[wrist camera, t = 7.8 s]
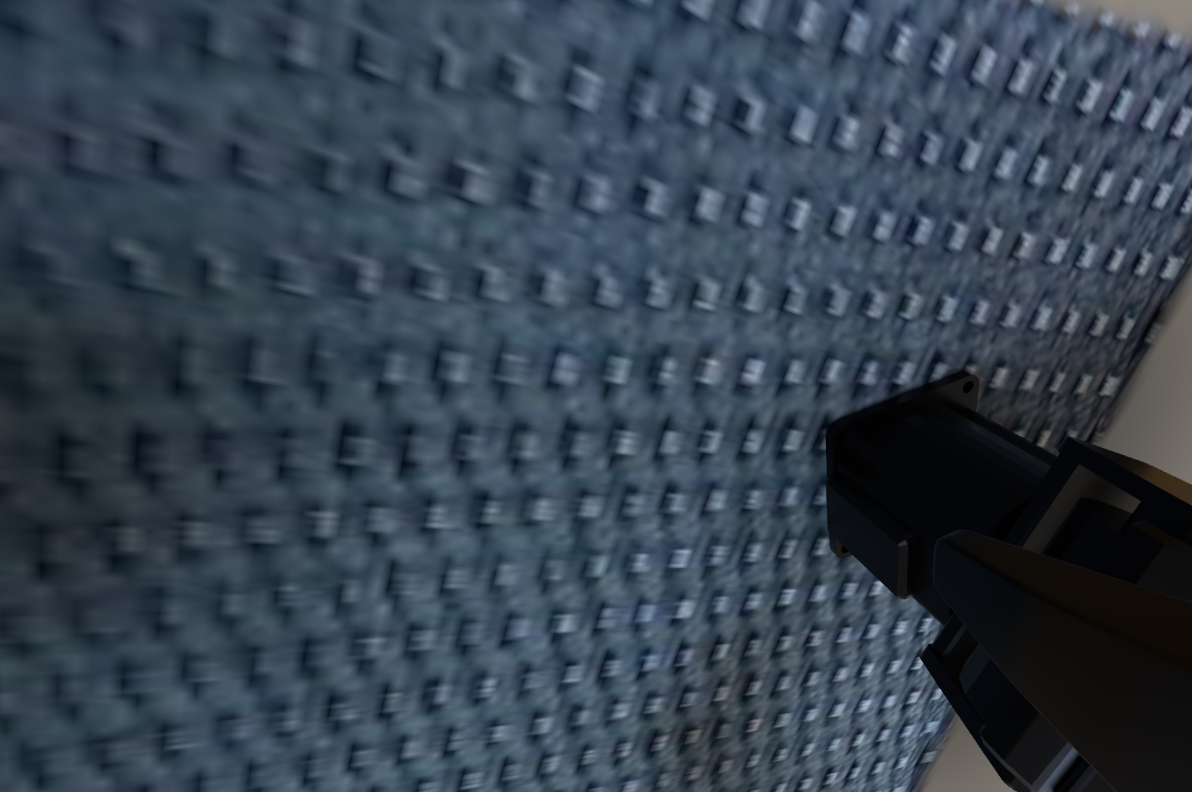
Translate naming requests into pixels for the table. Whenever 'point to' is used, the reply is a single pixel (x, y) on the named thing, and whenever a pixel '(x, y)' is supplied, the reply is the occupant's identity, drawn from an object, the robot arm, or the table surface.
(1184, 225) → the table surface
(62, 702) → the table surface
